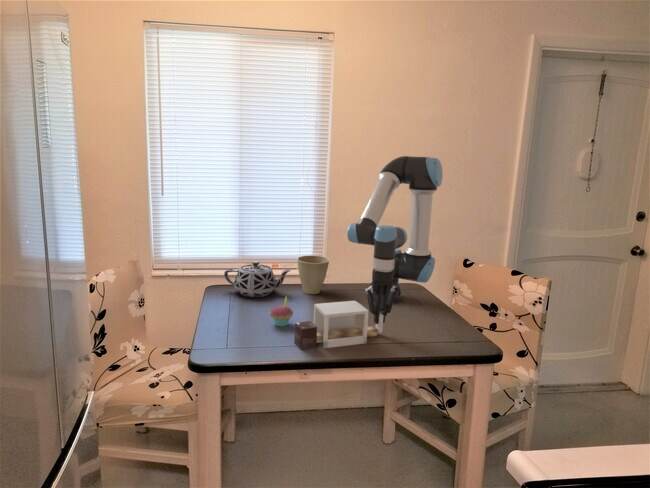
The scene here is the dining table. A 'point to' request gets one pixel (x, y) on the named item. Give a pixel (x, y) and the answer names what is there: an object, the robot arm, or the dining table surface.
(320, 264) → the plant pot
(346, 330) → the rod
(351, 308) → the tunnel
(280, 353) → the dining table surface
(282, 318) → the cupcake
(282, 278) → the teapot
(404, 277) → the robot arm
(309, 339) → the box
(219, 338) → the dining table surface
